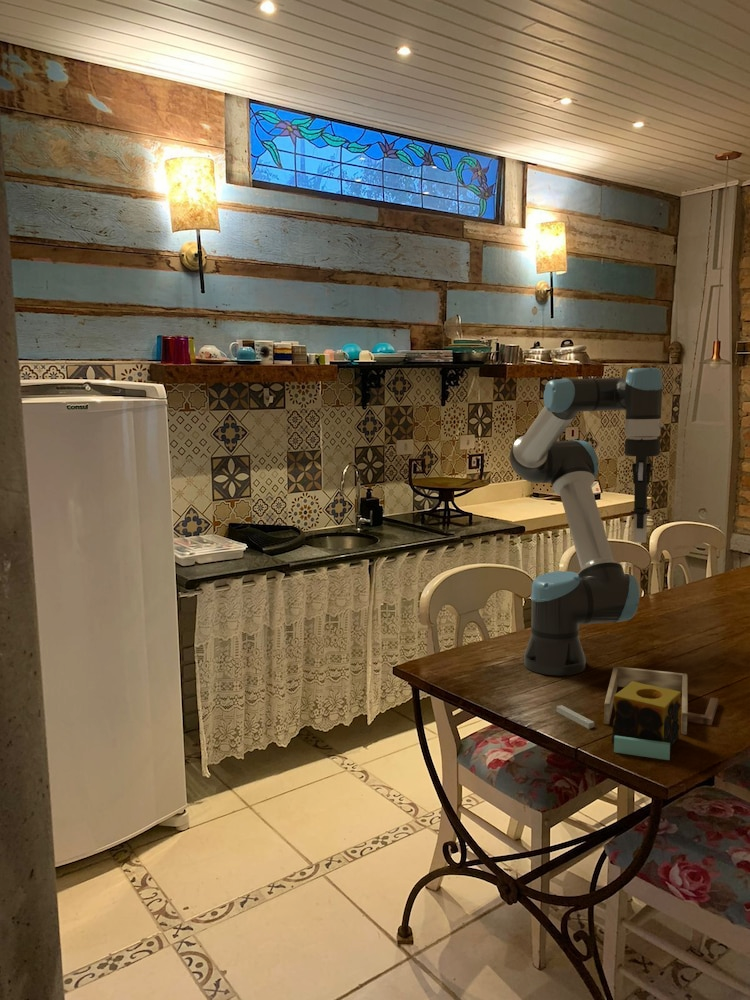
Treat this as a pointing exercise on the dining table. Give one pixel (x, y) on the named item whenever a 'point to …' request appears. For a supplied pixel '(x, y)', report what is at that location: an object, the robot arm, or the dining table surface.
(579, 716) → the grey stick
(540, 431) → the robot arm
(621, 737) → the bar
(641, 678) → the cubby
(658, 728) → the candle
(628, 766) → the dining table surface
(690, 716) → the crook tool
